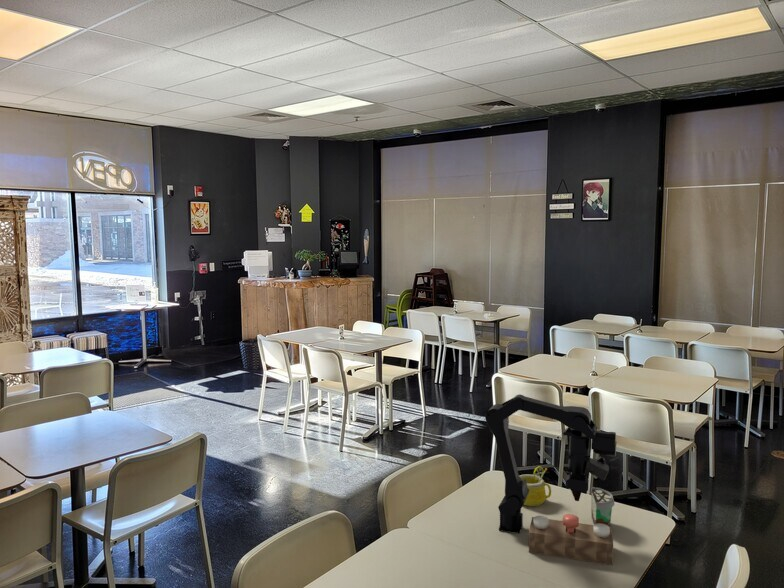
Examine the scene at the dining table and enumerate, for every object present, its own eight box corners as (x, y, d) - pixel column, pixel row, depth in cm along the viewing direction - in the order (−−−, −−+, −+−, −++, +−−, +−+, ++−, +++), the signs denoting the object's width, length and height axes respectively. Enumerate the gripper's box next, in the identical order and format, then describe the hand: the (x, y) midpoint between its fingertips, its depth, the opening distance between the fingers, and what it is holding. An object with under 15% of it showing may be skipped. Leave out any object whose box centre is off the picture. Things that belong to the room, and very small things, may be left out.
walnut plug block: (528, 552, 171) (528, 532, 170) (532, 535, 180) (532, 516, 179) (612, 564, 163) (613, 544, 163) (611, 546, 173) (612, 527, 172)
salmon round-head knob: (562, 545, 170) (562, 520, 169) (563, 537, 174) (563, 513, 173) (578, 547, 169) (578, 522, 168) (578, 540, 173) (578, 515, 172)
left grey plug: (532, 546, 173) (532, 521, 172) (533, 539, 177) (534, 514, 176) (547, 548, 171) (548, 523, 171) (548, 541, 176) (549, 516, 175)
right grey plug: (593, 555, 167) (593, 529, 167) (593, 547, 172) (593, 522, 171) (609, 557, 166) (610, 531, 165) (609, 549, 170) (609, 524, 169)
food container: (617, 536, 179) (617, 504, 178) (596, 534, 180) (596, 503, 179) (610, 517, 191) (611, 487, 190) (590, 515, 192) (591, 486, 191)
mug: (517, 508, 198) (517, 474, 197) (511, 494, 209) (511, 462, 208) (555, 508, 198) (555, 474, 196) (547, 494, 208) (547, 462, 207)
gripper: (608, 466, 162) (605, 519, 164) (607, 443, 180) (605, 492, 181) (566, 460, 166) (564, 512, 168) (570, 438, 184) (568, 486, 185)
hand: (577, 500), depth 176 cm, fingers closed
